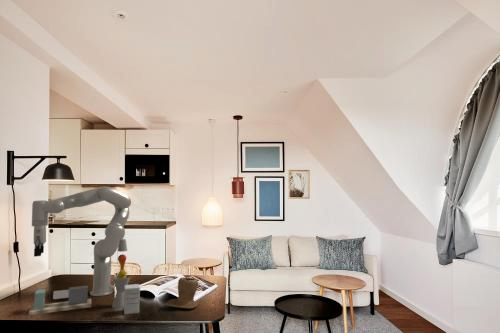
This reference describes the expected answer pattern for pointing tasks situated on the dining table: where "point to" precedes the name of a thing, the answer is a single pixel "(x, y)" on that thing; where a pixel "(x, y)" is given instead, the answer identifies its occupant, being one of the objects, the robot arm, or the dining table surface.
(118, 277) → the lava lamp
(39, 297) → the socket block
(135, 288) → the supplement box
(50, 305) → the base board
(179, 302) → the brown boot
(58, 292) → the tube
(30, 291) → the dining table surface
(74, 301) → the sleeve
